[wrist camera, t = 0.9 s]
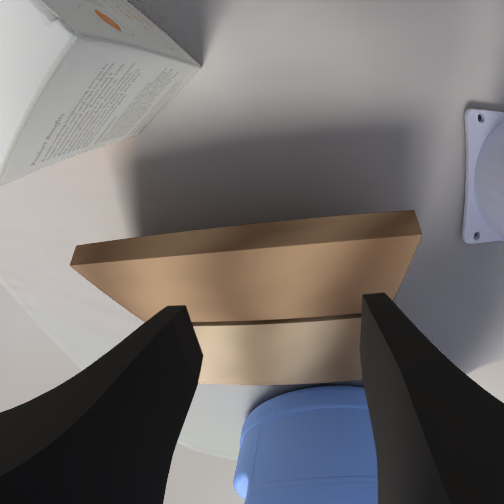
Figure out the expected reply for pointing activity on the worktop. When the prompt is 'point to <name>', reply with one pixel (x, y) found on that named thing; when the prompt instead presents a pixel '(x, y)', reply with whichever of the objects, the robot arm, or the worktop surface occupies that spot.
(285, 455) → the water jug
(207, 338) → the oak floor strip
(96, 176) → the worktop surface
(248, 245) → the walnut plank
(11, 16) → the small box
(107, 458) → the robot arm
